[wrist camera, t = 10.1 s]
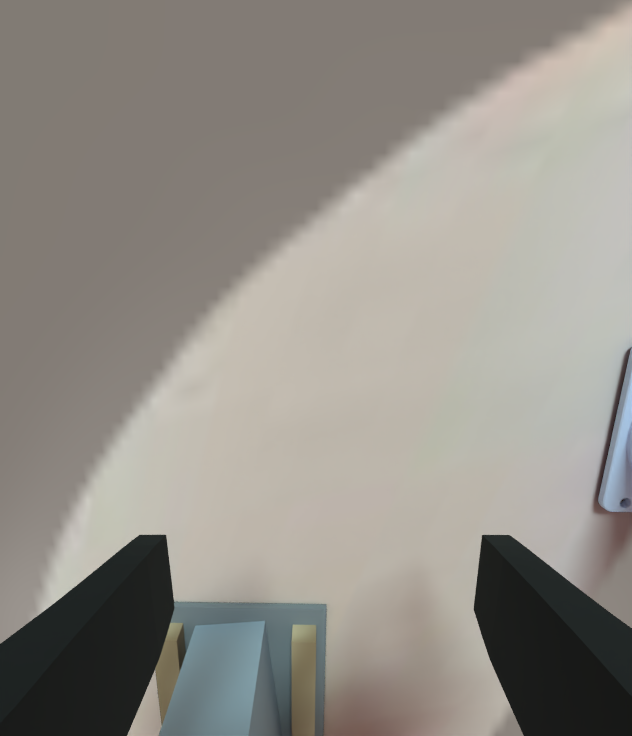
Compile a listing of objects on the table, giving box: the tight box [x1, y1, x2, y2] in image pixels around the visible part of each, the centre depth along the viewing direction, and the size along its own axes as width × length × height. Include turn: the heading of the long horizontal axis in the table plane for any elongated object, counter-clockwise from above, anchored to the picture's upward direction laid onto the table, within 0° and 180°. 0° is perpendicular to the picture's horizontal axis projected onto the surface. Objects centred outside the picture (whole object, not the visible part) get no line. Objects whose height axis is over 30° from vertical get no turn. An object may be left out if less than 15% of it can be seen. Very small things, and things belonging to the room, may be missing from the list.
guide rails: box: [155, 623, 316, 736], centre depth 22 cm, size 8×8×1 cm
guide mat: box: [155, 602, 326, 736], centre depth 22 cm, size 9×10×1 cm
